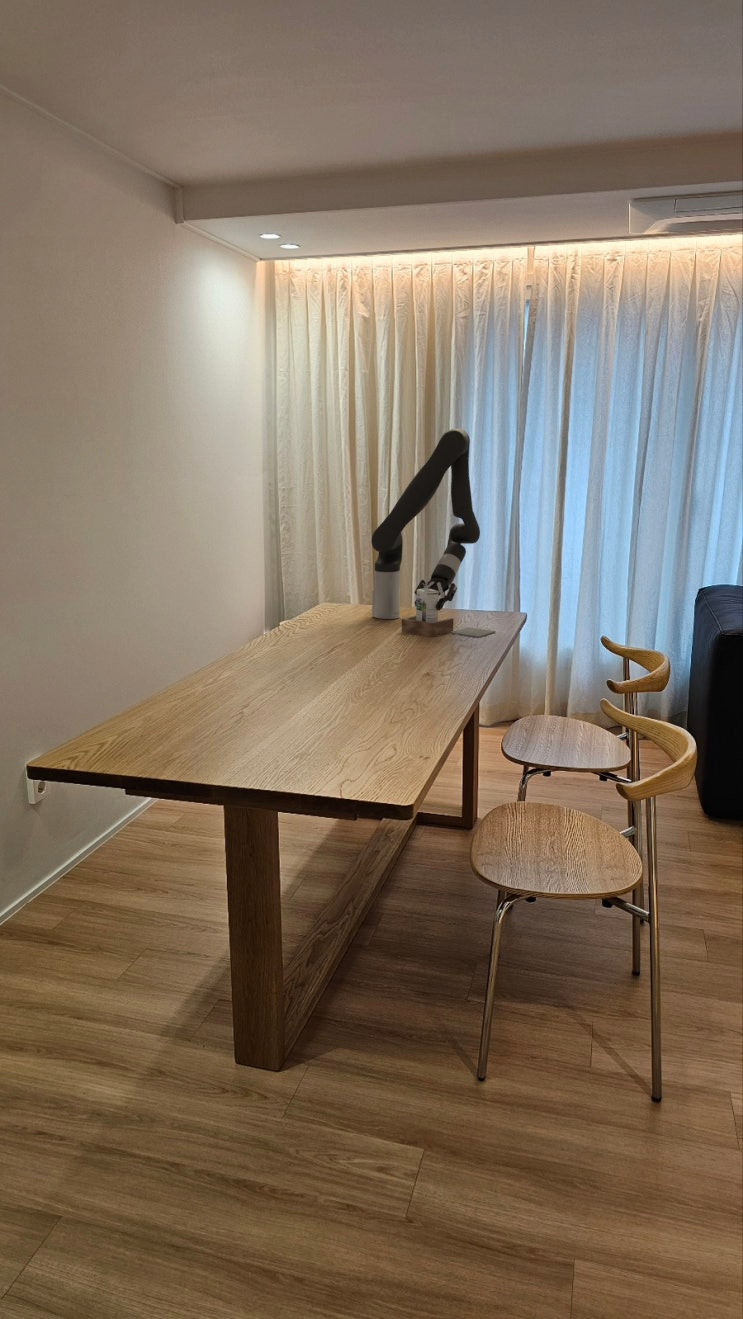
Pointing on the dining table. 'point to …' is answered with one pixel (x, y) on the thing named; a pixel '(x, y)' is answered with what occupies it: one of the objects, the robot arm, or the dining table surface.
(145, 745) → the dining table surface
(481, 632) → the grey mat
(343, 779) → the dining table surface
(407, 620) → the walnut cubby
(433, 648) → the dining table surface
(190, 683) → the dining table surface
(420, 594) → the syrup box
